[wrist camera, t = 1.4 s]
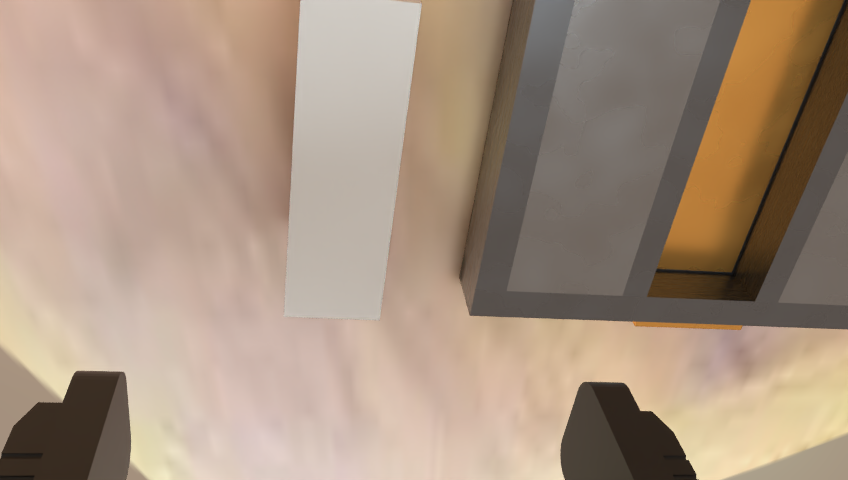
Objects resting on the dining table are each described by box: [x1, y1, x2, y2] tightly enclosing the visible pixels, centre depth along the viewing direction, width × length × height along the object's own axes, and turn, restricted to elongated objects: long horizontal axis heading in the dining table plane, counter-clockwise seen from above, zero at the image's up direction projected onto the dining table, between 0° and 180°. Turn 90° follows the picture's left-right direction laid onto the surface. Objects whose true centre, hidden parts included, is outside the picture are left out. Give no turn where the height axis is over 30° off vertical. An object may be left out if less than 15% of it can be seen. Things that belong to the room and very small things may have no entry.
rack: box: [460, 0, 848, 330], centre depth 28 cm, size 18×15×2 cm
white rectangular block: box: [284, 0, 422, 320], centre depth 24 cm, size 3×10×6 cm, turn 172°
